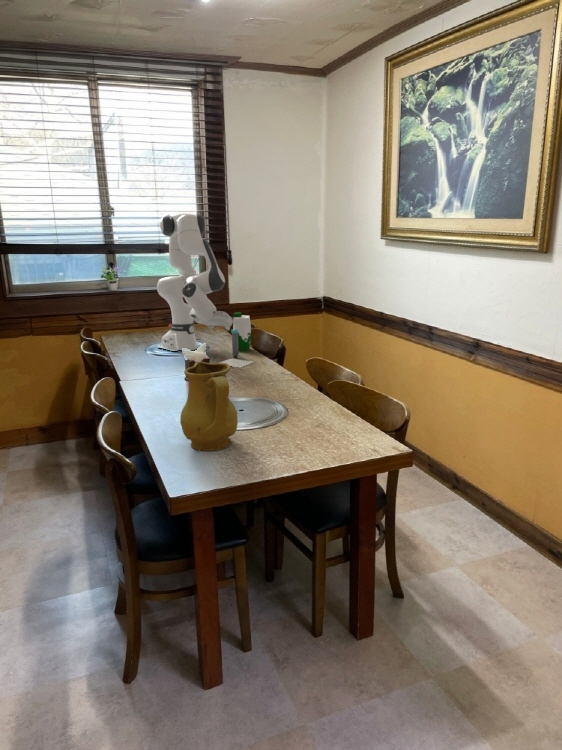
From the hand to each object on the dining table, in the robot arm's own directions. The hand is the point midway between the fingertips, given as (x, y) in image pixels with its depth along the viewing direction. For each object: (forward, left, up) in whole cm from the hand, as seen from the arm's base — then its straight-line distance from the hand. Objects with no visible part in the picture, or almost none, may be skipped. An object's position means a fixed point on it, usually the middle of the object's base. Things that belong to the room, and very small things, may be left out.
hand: (220, 328), depth 253 cm
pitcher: (+57, -82, -17) cm, 102 cm away
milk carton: (-6, +27, -17) cm, 32 cm away
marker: (0, +12, -17) cm, 20 cm away
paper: (+7, +2, -17) cm, 18 cm away
